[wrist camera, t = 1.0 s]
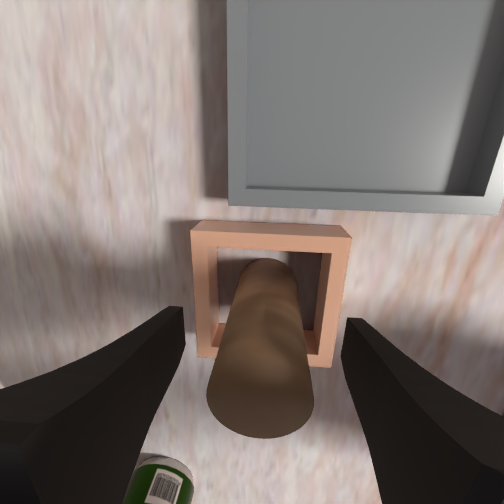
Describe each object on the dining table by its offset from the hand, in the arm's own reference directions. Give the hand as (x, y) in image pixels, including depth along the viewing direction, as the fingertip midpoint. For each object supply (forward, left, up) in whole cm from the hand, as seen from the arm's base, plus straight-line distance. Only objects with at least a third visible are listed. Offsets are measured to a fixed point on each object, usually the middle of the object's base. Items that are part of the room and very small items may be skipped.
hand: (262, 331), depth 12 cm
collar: (0, 0, -5) cm, 5 cm away
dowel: (0, 0, -5) cm, 5 cm away
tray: (-4, -11, -5) cm, 13 cm away
